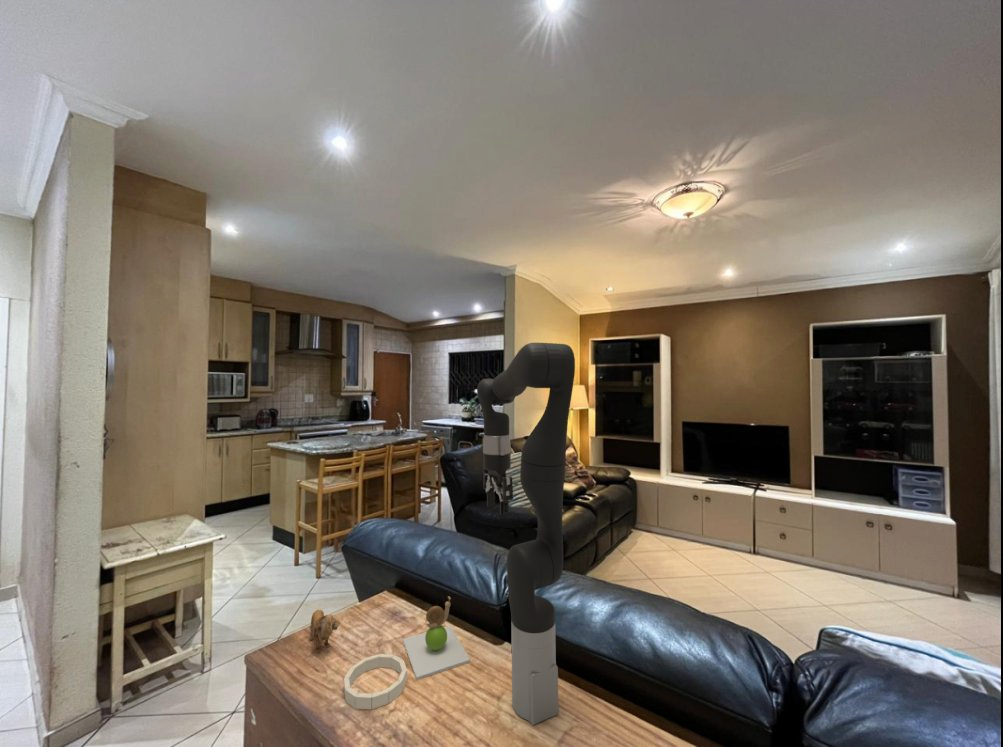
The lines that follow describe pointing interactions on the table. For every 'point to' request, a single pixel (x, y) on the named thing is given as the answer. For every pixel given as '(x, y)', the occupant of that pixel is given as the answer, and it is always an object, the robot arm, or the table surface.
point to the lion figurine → (322, 628)
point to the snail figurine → (436, 626)
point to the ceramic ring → (382, 696)
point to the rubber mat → (434, 654)
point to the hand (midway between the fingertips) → (497, 510)
